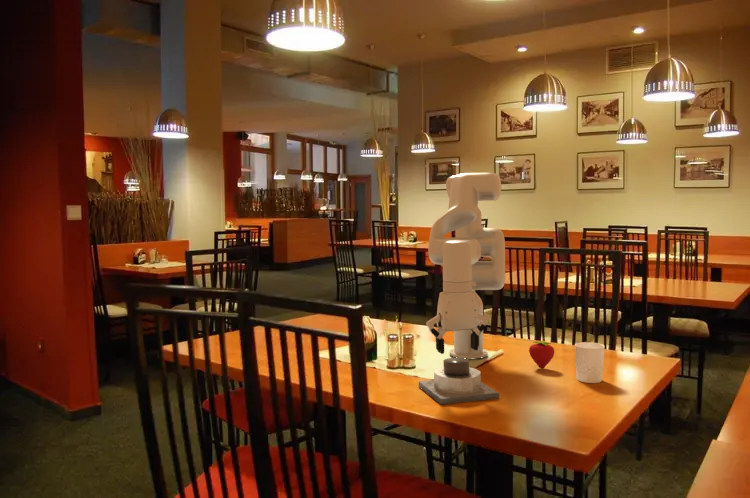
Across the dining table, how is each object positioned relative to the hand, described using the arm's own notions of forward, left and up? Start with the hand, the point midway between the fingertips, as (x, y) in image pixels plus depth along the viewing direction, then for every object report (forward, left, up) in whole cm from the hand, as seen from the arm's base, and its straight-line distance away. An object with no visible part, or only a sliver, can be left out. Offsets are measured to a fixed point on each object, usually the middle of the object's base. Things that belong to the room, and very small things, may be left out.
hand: (457, 350), depth 158 cm
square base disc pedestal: (+1, 0, -11) cm, 11 cm away
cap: (+1, -1, -10) cm, 10 cm away
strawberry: (-13, +34, -11) cm, 38 cm away
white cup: (+2, +40, -11) cm, 41 cm away
